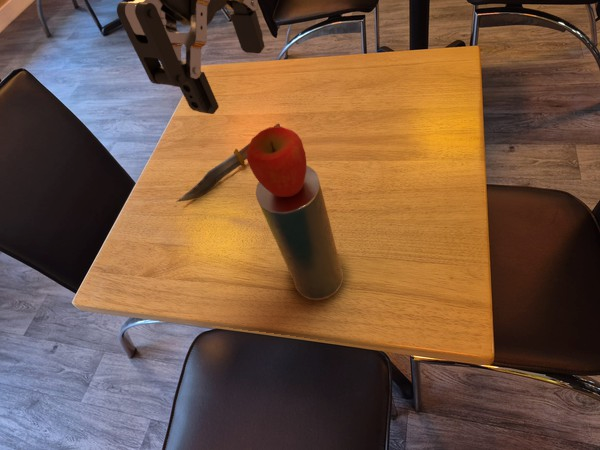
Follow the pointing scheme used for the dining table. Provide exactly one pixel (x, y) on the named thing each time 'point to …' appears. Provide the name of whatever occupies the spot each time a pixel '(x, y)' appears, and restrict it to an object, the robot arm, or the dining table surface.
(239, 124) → the dining table surface
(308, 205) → the tin can
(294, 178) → the apple
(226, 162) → the knife
